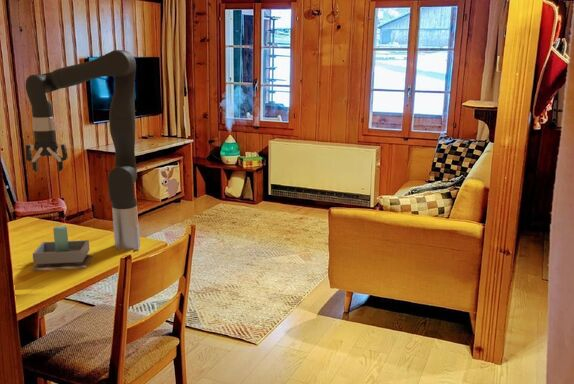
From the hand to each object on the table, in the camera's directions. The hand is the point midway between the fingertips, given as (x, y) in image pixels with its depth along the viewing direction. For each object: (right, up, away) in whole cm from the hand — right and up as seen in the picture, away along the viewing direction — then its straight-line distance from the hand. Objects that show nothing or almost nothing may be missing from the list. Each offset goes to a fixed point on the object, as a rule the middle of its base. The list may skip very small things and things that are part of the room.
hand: (48, 171), depth 200 cm
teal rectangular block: (+11, -30, -13) cm, 35 cm away
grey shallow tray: (+11, -33, -13) cm, 37 cm away
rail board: (+11, -34, -12) cm, 38 cm away
